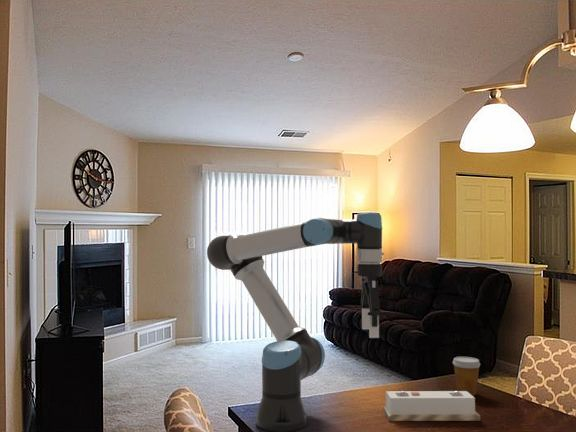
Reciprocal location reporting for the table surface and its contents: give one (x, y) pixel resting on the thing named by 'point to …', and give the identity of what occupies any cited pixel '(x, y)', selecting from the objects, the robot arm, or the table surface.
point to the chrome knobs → (405, 394)
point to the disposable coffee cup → (466, 373)
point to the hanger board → (432, 417)
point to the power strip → (430, 403)
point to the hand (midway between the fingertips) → (370, 333)
